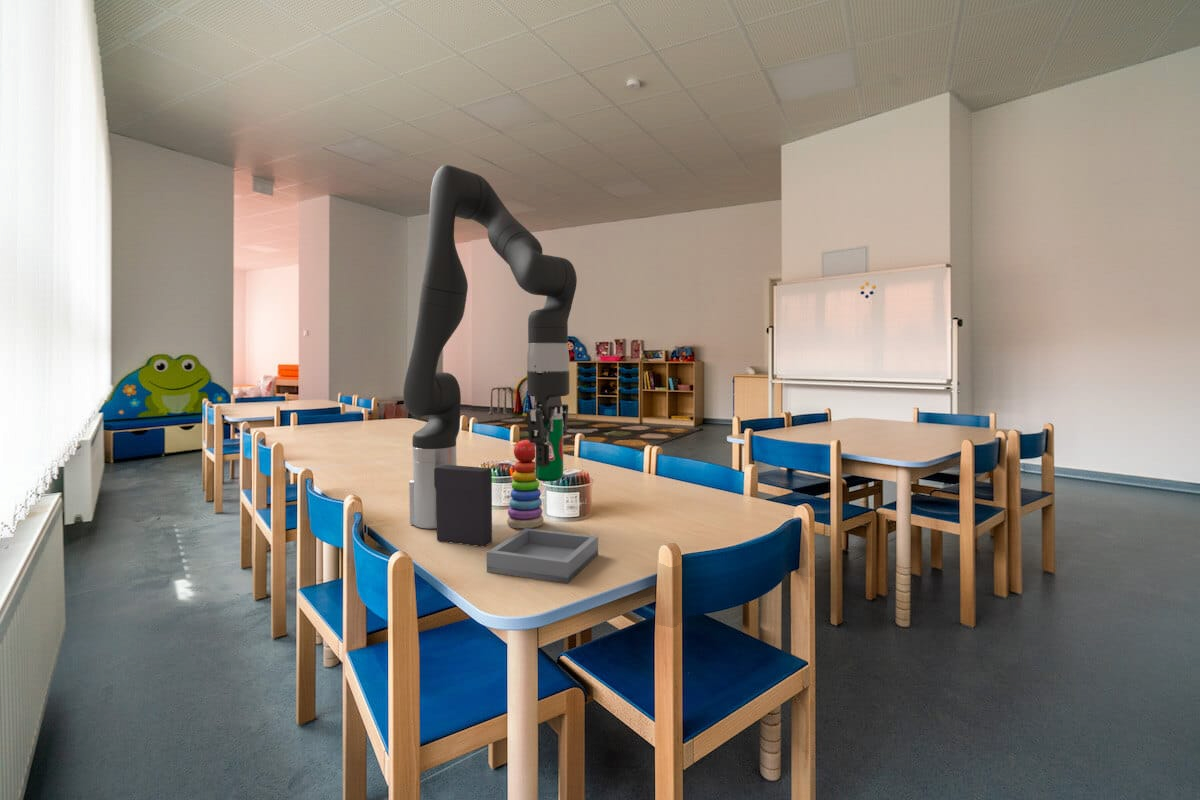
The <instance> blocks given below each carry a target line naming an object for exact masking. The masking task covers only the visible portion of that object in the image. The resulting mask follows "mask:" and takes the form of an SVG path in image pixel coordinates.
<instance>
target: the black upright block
mask: <svg viewBox="0 0 1200 800" xmlns="http://www.w3.org/2000/svg"><path fill="white" fill-rule="evenodd" d="M456 465H457V464H456ZM456 465H443V466H439V467H436V468H435V469H434V486H435V488H436V510H437V528H436V540H437V541H438V542H442V541H443V542H444V543H450V542H452V543H451V544H457V543H462V544H461V545H465V544H469V545H468V546H473V545H477V546H476V547H481V546H484V547H486V546H488V545H489V544H491V543H492V542H493V491H492V489H493V484H492V483H493V481H492V480H493V477H492V474H493V473H492V472H493V471H492V468H490V467H479V466H468V465H467V466H466V465H457V466H456Z"/></svg>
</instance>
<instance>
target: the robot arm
mask: <svg viewBox="0 0 1200 800" xmlns="http://www.w3.org/2000/svg"><path fill="white" fill-rule="evenodd" d="M428 212H429V213H428V231H427V232H428V234H427V235H428V238H427V246H426V247H427V248H426V254H425V255H426V256H425V262H424V272H423V275H422V282H421V288H420V289H421V290H420V296H419V302H418V303H419V305H418V314H417V315H418V316H417V321H416V326H415V334H414V339H413V340H414V341H413V345H412V349H411V350H412V351H411V353H410V354H411V355H410V358H409V363H408V367H407V371H406V375H405V379H404V384H403V394H402V396H403V403H404V406H405V408H406V410H407V412H408V413H409V414H410V415H411V416H415V417H424V416H425V417H427V416H429V417H428V420H427V422H426V424H425V425H424V426H423V427H422V428H420V429H419V430H417V431H415V432H414V433H413V435H412V479H411V480H409V482H408V486H409V487H408V491H409V492H408V493H409V496H408V497H409V498H408V499H409V500H408V501H409V525H413V526H415V527H417V528H419V529H437V510H436V488H435V486H434V469H435V468H436V467H439V466H443V465H456V466H458V465H457V438H458V435H459V433H460V428H461V427H460V425H461V408H462V406H461V404H462V403H461V401H462V400H461V399H462V395H461V388H460V385H459V382H458V380H457V378H456V377H455V376H454V375H453V374H452V373H449V372H444V371H442V372H441V371H440V372H437V369H438V368H437V367H438V364H439V359H440V356H441V354H442V351H443V350H444V347H445V346H446V345H447V343H448V341H449V340H450V338H451V337H452V336H453V334H454V333H455V331H456V330H457V329H458V327H459V326H460V323H461V322H462V320H463V317H464V315H465V310H466V309H465V308H466V304H467V303H466V302H467V296H468V286H469V285H468V279H467V276H466V273H465V269H464V266H463V264H462V262H461V259H460V257H459V253H458V250H457V248H456V243H455V221H456V220H455V219H456V218H459V219H460V218H461V219H464V220H472V221H474V222H476V223H478V224H480V225H481V226H483V227H484V228H486V229H487V237H488V241H489V243H490V245H491V247H492V248H493V250H494V251H495V252H496V253H497V254H498V256H499V257H500V258H501V259H503V261H504V262H505V263H506V264H507V265H508V266H509V268H510V270H511V273H512V274H513V277H514V279H515V281H516V283H517V285H518V286H519V287H520V288H521V289H522V290H523V291H525V292H527V293H528V294H531V295H534V296H535V295H536V296H544V297H546V299H545V300H546V301H545V302H544V306H543V308H540V309H535V310H532V311H531V312H530V313H529V315H528V320H527V321H528V322H527V323H528V324H527V335H528V337H527V340H528V341H527V343H528V344H527V353H526V355H527V356H526V377H527V378H526V379H527V380H526V383H527V384H526V385H527V386H526V389H527V390H526V391H527V395H528V396H530V397H534V398H535V400H534V408H533V409H526V420H527V421H526V422H527V431H528V440H529V441H530V443H534V445H536V465H537V466H539V467H547V466H549V439H550V434H551V433H552V432H553V429H554V421H553V420H554V418H555V417H556V416H557V413H558V414H559V413H561V416H562V418H563V437H566V436H567V431H568V420H569V419H568V418H569V405H568V403H566V404H564V403H563V401H562V397H566V396H568V395H570V352H569V344H568V341H569V337H568V332H569V331H568V327H569V324H568V322H569V318H570V314H571V309H572V305H573V301H574V297H575V293H576V289H577V282H578V281H577V280H578V279H577V273H576V269H575V266H574V265H573V263H572V262H571V261H570V260H569V259H567V258H564V257H560V256H556V255H555V256H553V255H548V254H543V247H542V244H541V243H540V241H539V240H538V239H537V237H535V236H534V235H533V233H531V232H530V231H529V230H528V229H527V228H526V227H525V226H524V225H523V224H522V223H520V222H519V221H518V220H517V219H516V218H515V217H514V216H513V215H512V214H511V212H510V211H509V210H508V208H507V207H506V206H505V204H504V202H503V201H502V200H501V199H500V197H499V196H498V194H497V193H496V191H495V190H494V188H493V187H492V186H491V184H490V183H489V182H488V181H487V180H486V178H484V177H483V176H482V175H480V174H478V173H476V172H475V173H474V172H471V171H469V170H466V169H462V168H459V167H457V166H453V165H449V164H444V165H441V166H440V167H439V168H438V169H437V170H436V171H435V174H434V176H433V178H432V183H431V188H430V196H429V211H428ZM543 423H544V424H548V423H549V425H548V426H547V427H544V424H543ZM544 432H545V434H544Z"/></svg>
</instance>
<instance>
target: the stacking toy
mask: <svg viewBox="0 0 1200 800" xmlns="http://www.w3.org/2000/svg"><path fill="white" fill-rule="evenodd" d="M513 455H514V458H515V459H516V460H517V461H516V462H515V463H514V465H513V468H514V472H513V473H512V475H511V476H512V477H511V478H512V479H513V480H512V482H511V488H512V490H511V491H510V497H511V498H510V500H509V506H510V507H509V508H508V510H507V515H508V517H507V519H506V521H507V524H508V526H509V527H511V528H514V529H520V530H524V529H525V528H529V529H535V528H538V527H540V526H541V525H543V524H544V519H545V518H544V516H543V515H542V514H543V509H542V507H541V506H542V504H543V503H542V499H541V498H540V497H541V489H539V487H540V482H539V480H538V479H537V478H536V477H535V445H534V443H530V441H529V439H521V440H519V441H518V442H516V444H515V446H514V448H513Z"/></svg>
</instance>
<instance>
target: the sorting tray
mask: <svg viewBox="0 0 1200 800" xmlns="http://www.w3.org/2000/svg"><path fill="white" fill-rule="evenodd" d="M598 556H599V535H591V534H590V535H589V534H579V533H571V532H564V531H563V532H562V531H555V530H554V531H553V530H547V529H545V530H544V529H538V528H537V529H535V528H525V529H521V530H520V531H518V532H517V533H515V534H514V535H512V536H511V537H509V538H507V539H506V540H503V541H502V542H501V543H499V544H497V545H495V546H494V547H493V548H490V549H489V550H487V551H486V573H490V572H495V573H494V574H497V573H501V574H500V575H504V574H508V575H507V576H511V575H514V576H513V577H518V576H520V578H526V577H527V578H528V579H534V580H540V581H546V582H553V583H561V584H570V582H571V581H572V580H573V579H575V577H576V576H577V575H579V573H580V572H582V571H583V570H582V569H585V568H586V567H587V566H588V565H589V564H590V563H591V562H592V561H593V560H594V559H595V558H596V557H598ZM581 570H582V571H581ZM527 578H526V579H527Z"/></svg>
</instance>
